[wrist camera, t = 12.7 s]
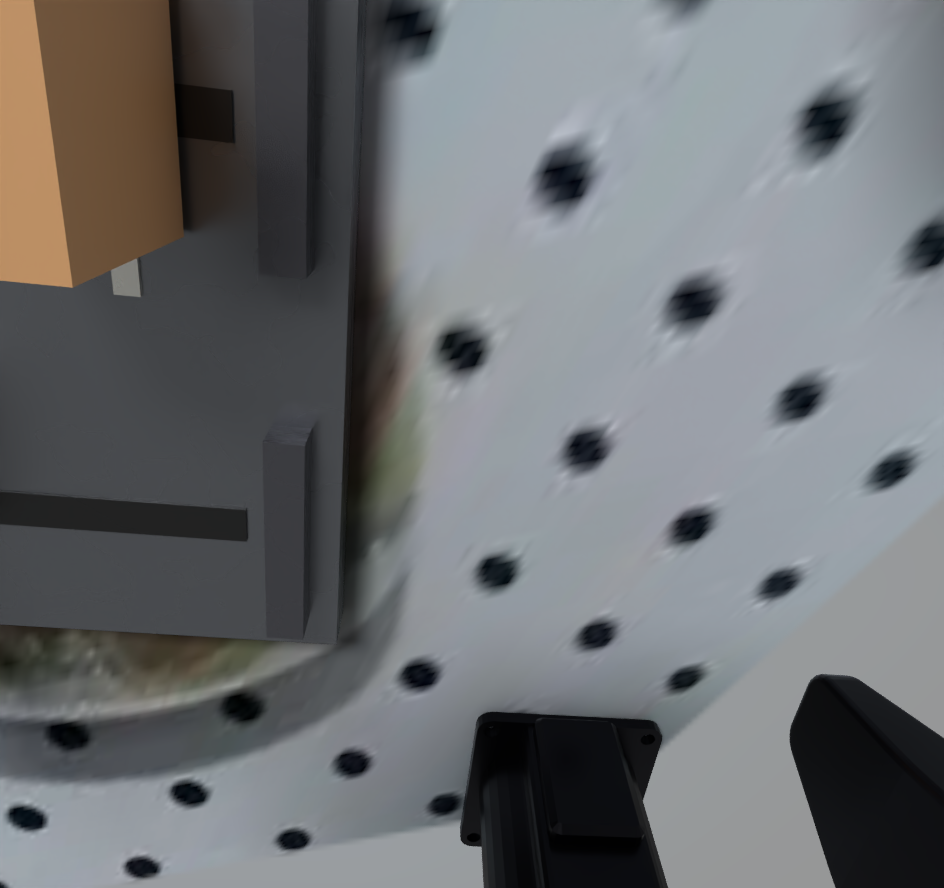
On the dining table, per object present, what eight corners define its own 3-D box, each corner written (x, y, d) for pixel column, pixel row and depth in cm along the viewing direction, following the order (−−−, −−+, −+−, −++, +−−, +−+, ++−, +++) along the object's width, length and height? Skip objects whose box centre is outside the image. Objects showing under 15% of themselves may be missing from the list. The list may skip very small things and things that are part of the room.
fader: (184, 236, 15) (67, 290, 10) (41, 221, 15) (-143, 268, 10) (166, -36, 13) (10, -123, 8) (-1, -59, 13) (-258, -160, 8)
